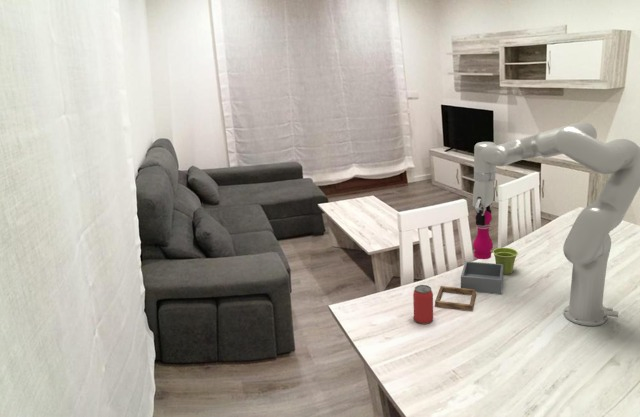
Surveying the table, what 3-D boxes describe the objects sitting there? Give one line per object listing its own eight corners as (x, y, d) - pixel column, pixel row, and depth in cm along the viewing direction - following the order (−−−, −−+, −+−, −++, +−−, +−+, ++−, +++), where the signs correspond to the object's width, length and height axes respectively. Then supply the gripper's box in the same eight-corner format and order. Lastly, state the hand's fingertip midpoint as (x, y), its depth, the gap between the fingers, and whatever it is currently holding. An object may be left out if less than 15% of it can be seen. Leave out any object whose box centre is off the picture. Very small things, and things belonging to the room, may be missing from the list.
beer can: (422, 326, 163) (421, 294, 160) (409, 318, 169) (409, 287, 165) (437, 320, 166) (437, 289, 163) (424, 312, 172) (424, 282, 168)
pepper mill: (493, 253, 187) (495, 204, 182) (491, 261, 181) (492, 210, 175) (474, 251, 191) (475, 203, 185) (471, 258, 185) (472, 209, 179)
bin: (502, 277, 193) (503, 264, 191) (501, 294, 180) (501, 280, 178) (465, 274, 199) (465, 261, 197) (460, 290, 186) (460, 276, 184)
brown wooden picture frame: (475, 294, 182) (475, 289, 181) (472, 311, 170) (472, 306, 170) (440, 290, 187) (440, 285, 186) (434, 306, 175) (434, 301, 175)
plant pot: (520, 275, 194) (521, 255, 191) (496, 277, 194) (497, 257, 191) (511, 266, 203) (512, 246, 200) (489, 267, 203) (489, 248, 200)
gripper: (482, 170, 185) (481, 214, 191) (465, 180, 172) (465, 228, 178) (502, 171, 181) (501, 217, 186) (486, 182, 168) (485, 231, 173)
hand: (483, 222), depth 182 cm, fingers closed on pepper mill, 6 cm apart
